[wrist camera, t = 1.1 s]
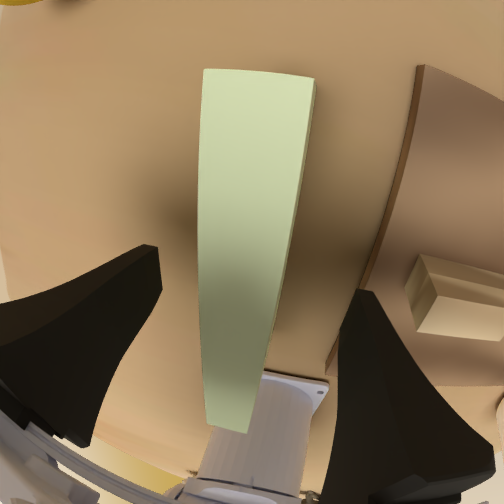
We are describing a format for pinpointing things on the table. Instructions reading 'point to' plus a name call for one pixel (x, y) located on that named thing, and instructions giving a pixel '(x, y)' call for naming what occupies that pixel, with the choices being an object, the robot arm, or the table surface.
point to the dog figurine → (310, 498)
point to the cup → (501, 423)
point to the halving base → (445, 235)
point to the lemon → (17, 2)
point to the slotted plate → (245, 225)
